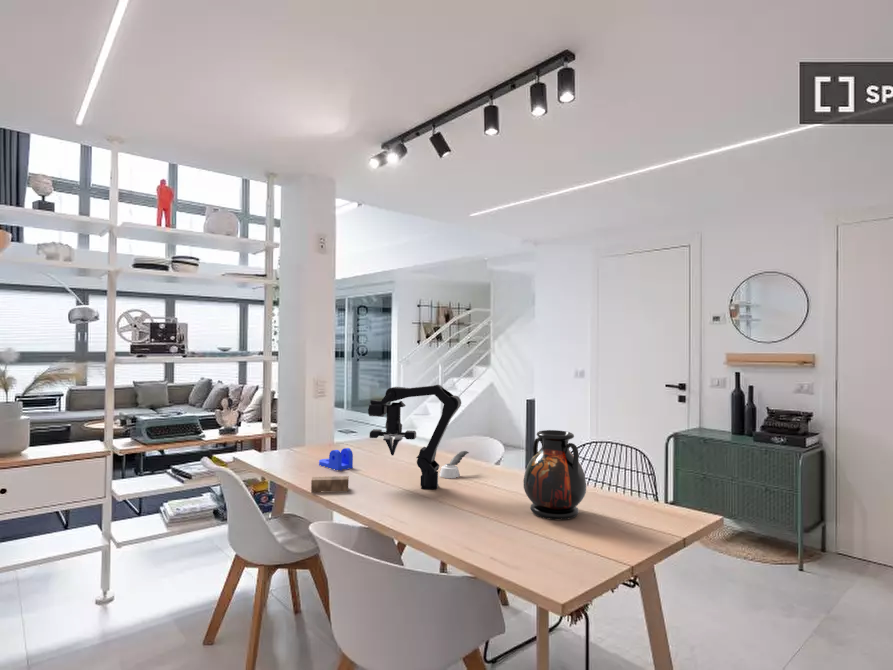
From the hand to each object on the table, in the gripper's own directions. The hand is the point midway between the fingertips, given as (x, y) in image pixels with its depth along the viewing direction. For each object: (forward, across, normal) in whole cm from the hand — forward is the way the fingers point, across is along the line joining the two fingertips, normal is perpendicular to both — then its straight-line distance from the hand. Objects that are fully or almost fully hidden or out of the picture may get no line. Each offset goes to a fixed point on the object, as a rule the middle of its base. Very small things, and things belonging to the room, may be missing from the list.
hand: (392, 455), depth 216 cm
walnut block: (+10, +16, +11) cm, 21 cm away
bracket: (+12, +33, -28) cm, 45 cm away
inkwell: (+12, -25, -22) cm, 35 cm away
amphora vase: (+12, -63, +28) cm, 70 cm away
